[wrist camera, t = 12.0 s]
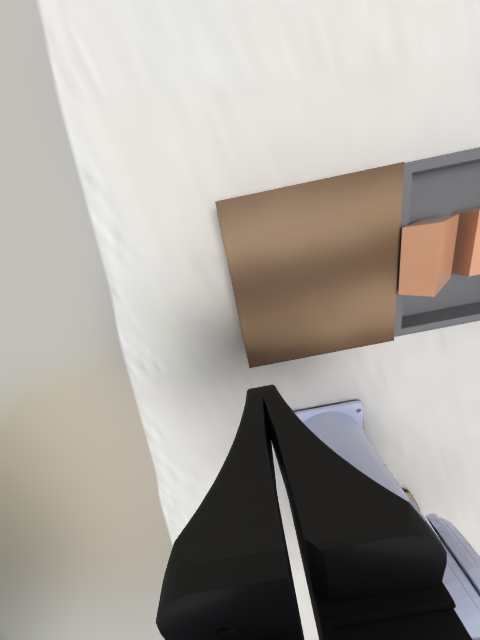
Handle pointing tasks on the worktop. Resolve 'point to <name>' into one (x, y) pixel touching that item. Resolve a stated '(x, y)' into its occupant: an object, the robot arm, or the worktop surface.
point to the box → (428, 202)
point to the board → (315, 264)
